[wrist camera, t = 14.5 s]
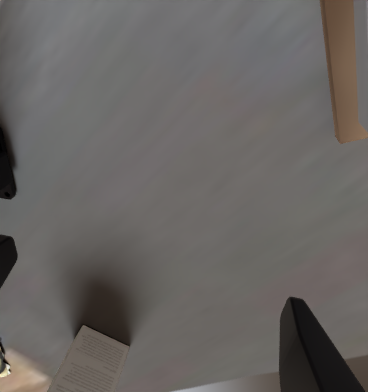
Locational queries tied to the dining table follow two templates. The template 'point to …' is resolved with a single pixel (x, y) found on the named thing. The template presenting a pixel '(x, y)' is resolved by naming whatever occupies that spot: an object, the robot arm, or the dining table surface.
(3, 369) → the decorative vase
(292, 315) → the robot arm
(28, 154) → the dining table surface
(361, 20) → the tower top
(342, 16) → the tower base
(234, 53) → the dining table surface
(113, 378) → the skincare box
